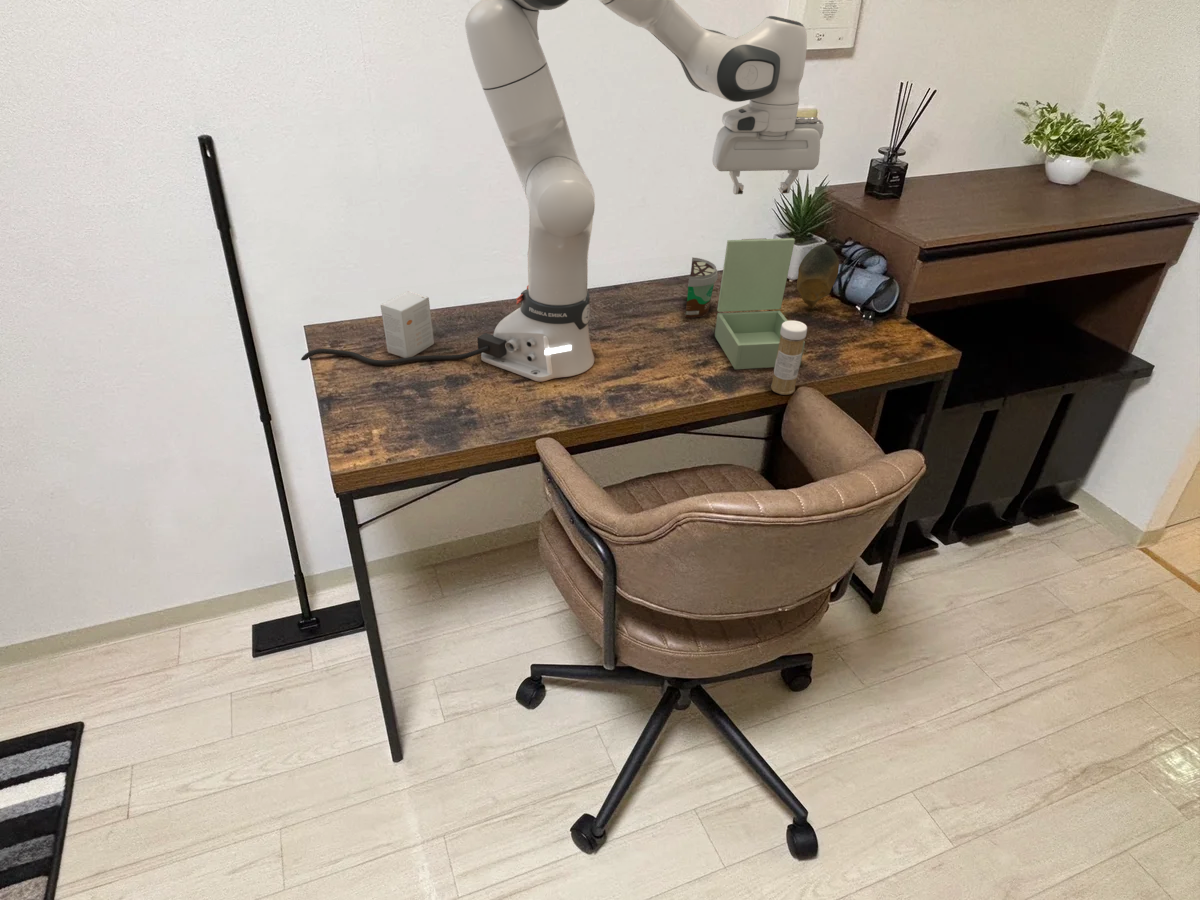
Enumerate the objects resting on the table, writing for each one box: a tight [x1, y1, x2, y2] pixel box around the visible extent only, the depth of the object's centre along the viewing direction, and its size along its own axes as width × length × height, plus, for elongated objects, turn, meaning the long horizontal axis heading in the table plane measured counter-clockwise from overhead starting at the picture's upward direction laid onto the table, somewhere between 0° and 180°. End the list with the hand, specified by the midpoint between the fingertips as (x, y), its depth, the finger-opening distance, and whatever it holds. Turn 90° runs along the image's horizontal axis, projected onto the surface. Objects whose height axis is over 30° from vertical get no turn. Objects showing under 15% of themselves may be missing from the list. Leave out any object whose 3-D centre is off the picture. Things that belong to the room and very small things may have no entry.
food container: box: [684, 257, 719, 319], centre depth 171 cm, size 12×6×10 cm, turn 171°
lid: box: [717, 237, 796, 313], centre depth 158 cm, size 15×14×5 cm
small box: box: [380, 290, 435, 358], centre depth 152 cm, size 8×6×10 cm
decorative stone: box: [796, 243, 840, 309], centre depth 172 cm, size 10×6×15 cm, turn 104°
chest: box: [714, 309, 806, 370], centre depth 157 cm, size 15×14×5 cm
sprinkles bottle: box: [770, 319, 808, 396], centre depth 142 cm, size 5×5×13 cm
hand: (761, 193), depth 150 cm, fingers open, 8 cm apart
